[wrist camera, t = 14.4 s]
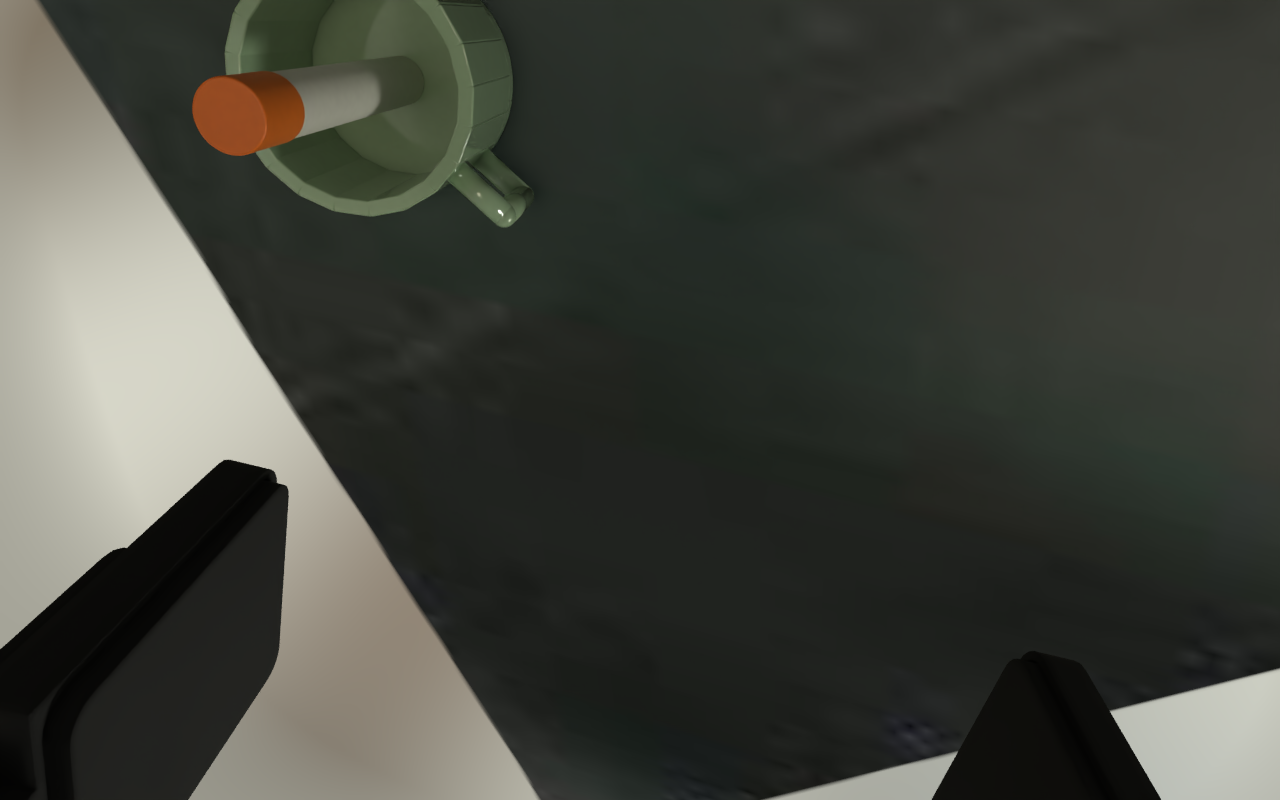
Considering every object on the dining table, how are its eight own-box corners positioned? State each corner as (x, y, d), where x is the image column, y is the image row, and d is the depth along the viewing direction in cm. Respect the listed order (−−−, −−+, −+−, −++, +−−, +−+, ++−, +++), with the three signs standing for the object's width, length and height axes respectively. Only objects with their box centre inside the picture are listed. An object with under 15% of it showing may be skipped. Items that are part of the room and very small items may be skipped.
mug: (268, 81, 37) (178, 94, 31) (387, -93, 34) (315, -118, 28) (477, 265, 40) (434, 312, 34) (604, 121, 37) (584, 143, 31)
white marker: (380, 49, 36) (191, 67, 22) (428, 61, 36) (268, 86, 23) (375, 99, 37) (191, 145, 23) (422, 111, 37) (265, 164, 23)
